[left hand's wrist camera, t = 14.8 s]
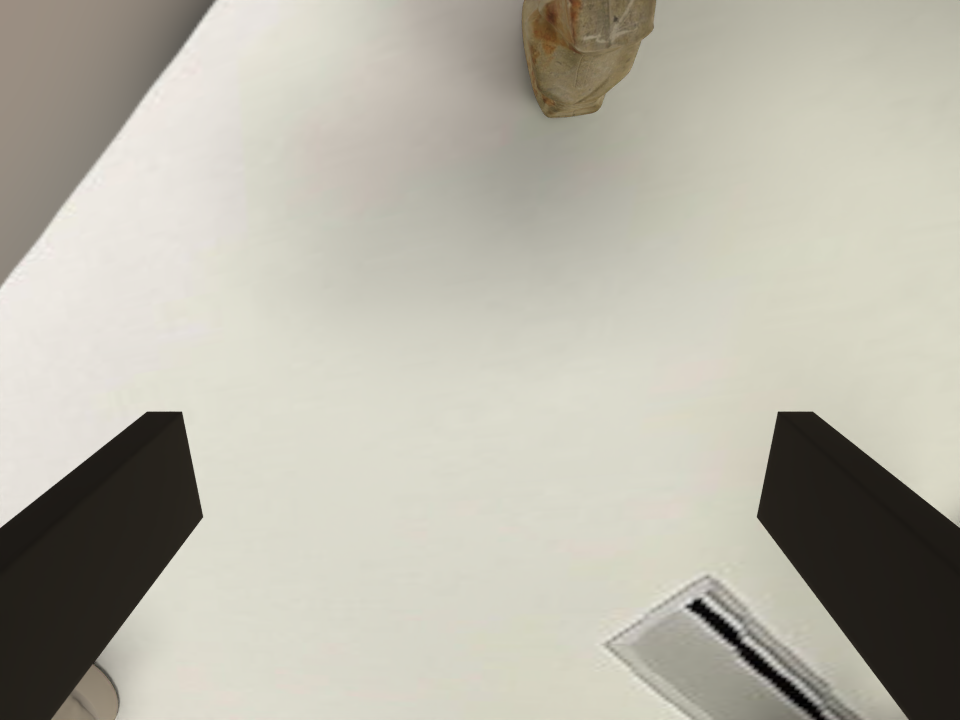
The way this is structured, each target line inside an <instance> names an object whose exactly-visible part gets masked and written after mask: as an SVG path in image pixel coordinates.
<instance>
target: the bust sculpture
mask: <svg viewBox="0 0 960 720" xmlns="http://www.w3.org/2000/svg"><path fill="white" fill-rule="evenodd" d="M117 711H118V699H117V695H116V692H115V690H114V687H113V686H112V684H111V682H110V681H109V679H108V678H107V677H106V676H105V675H104V674H103V673H102V672H101V671H100V670H99V669H98V668H97V667H96V666H95V665H92V666H91V667H90V669H89V670H88V671H87V673H86V674H85V675H84V677H83V678H82V679H81V680H80V682H79V683H78V684H77V686H76V687H75V688H74V690H73V691H72V692H71V694H70V695H69V696H68V698H67V699H66V700H65V702H64V703H63V704H62V706H61V707H60V708H59V710H58V711H57V712H56V714H55V715H54V716H53V718H52V719H51V720H115V718H116V715H117Z"/></svg>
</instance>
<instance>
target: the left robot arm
mask: <svg viewBox="0 0 960 720" xmlns="http://www.w3.org/2000/svg"><path fill="white" fill-rule="evenodd" d="M202 518H203V514H202V509H201V504H200V499H199V494H198V489H197V484H196V479H195V474H194V469H193V464H192V459H191V454H190V449H189V444H188V439H187V434H186V429H185V424H184V419H183V414H182V412H146V413H145V414H144V415H142V416H141V417H140V418H139V419H137V420H136V421H135V422H134V423H132V424H131V425H130V426H128V427H127V428H126V429H125V430H123V431H122V432H121V433H120V434H118V435H117V436H116V437H115V438H113V439H112V440H111V441H110V442H108V443H107V444H106V445H104V446H103V447H102V448H101V449H99V450H98V451H97V452H96V453H94V454H93V455H92V456H91V457H89V458H88V459H87V460H86V461H84V462H83V463H82V464H81V465H79V466H78V467H77V468H75V469H74V470H73V471H72V472H70V473H69V474H68V475H67V476H65V477H64V478H63V479H62V480H60V481H59V482H58V483H57V484H55V485H54V486H53V487H51V488H50V489H49V490H48V491H46V492H45V493H44V494H43V495H41V496H40V497H39V498H38V499H36V500H35V501H34V502H33V503H31V504H30V505H29V506H28V507H26V508H25V509H24V510H22V511H21V512H20V513H19V514H17V515H16V516H15V517H14V518H12V519H11V520H10V521H9V522H7V523H6V524H5V525H4V526H2V527H1V528H0V720H51V719H52V718H53V716H54V715H55V714H56V712H57V711H58V710H59V708H60V707H61V706H62V704H63V703H64V702H65V700H66V699H67V698H68V696H69V695H70V694H71V692H72V691H73V690H74V688H75V687H76V686H77V684H78V683H79V682H80V680H81V679H82V678H83V677H84V675H85V674H86V673H87V671H88V670H89V669H90V667H91V666H92V665H93V663H94V662H95V661H96V659H97V658H98V657H99V655H100V654H101V653H102V651H103V650H104V649H105V647H106V646H107V645H108V643H109V642H110V641H111V639H112V638H113V637H114V635H115V634H116V633H117V631H118V630H119V629H120V627H121V626H122V625H123V623H124V622H125V621H126V619H127V618H128V617H129V615H130V614H131V613H132V611H133V610H134V609H135V607H136V606H137V605H138V603H139V602H140V601H141V599H142V598H143V597H144V595H145V594H146V593H147V591H148V590H149V589H150V587H151V586H152V585H153V583H154V582H155V581H156V579H157V578H158V577H159V575H160V574H161V573H162V571H163V570H164V569H165V567H166V566H167V565H168V563H169V562H170V561H171V559H172V558H173V557H174V555H175V554H176V553H177V551H178V550H179V549H180V547H181V546H182V545H183V543H184V542H185V541H186V539H187V538H188V537H189V535H190V534H191V533H192V531H193V530H194V529H195V527H196V526H197V525H198V523H199V522H200V521H201V519H202ZM757 518H758V519H759V521H760V522H761V523H762V525H763V526H764V527H765V529H766V530H767V531H768V533H769V534H770V535H771V537H772V538H773V539H774V541H775V542H776V543H777V545H778V546H779V547H780V549H781V550H782V551H783V553H784V554H785V555H786V557H787V558H788V559H789V561H790V562H791V563H792V565H793V566H794V567H795V569H796V570H797V571H798V573H799V574H800V575H801V577H802V578H803V579H804V581H805V582H806V583H807V585H808V586H809V587H810V589H811V590H812V591H813V593H814V594H815V595H816V597H817V598H818V599H819V601H820V602H821V603H822V605H823V606H824V607H825V609H826V610H827V611H828V613H829V614H830V615H831V617H832V618H833V619H834V621H835V622H836V623H837V625H838V626H839V627H840V629H841V630H842V631H843V633H844V634H845V635H846V637H847V638H848V639H849V641H850V642H851V643H852V645H853V646H854V647H855V649H856V650H857V651H858V653H859V654H860V655H861V657H862V658H863V659H864V661H865V662H866V663H867V665H868V666H869V667H870V669H871V670H872V671H873V673H874V674H875V675H876V677H877V678H878V679H879V680H880V682H881V683H882V684H883V686H884V687H885V688H886V690H887V691H888V692H889V694H890V695H891V696H892V698H893V699H894V700H895V702H896V703H897V704H898V706H899V707H900V708H901V710H902V711H903V712H904V714H905V715H906V716H907V718H908V719H909V720H960V528H959V527H958V526H956V525H955V524H954V523H953V522H951V521H950V520H949V519H948V518H946V517H945V516H944V515H943V514H941V513H940V512H939V511H938V510H936V509H935V508H934V507H932V506H931V505H930V504H929V503H927V502H926V501H925V500H924V499H922V498H921V497H920V496H919V495H917V494H916V493H915V492H914V491H912V490H911V489H910V488H909V487H907V486H906V485H905V484H903V483H902V482H901V481H900V480H898V479H897V478H896V477H895V476H893V475H892V474H891V473H890V472H888V471H887V470H886V469H885V468H883V467H882V466H881V465H879V464H878V463H877V462H876V461H874V460H873V459H872V458H871V457H869V456H868V455H867V454H866V453H864V452H863V451H862V450H861V449H859V448H858V447H857V446H855V445H854V444H853V443H852V442H850V441H849V440H848V439H847V438H845V437H844V436H843V435H842V434H840V433H839V432H838V431H837V430H835V429H834V428H833V427H832V426H830V425H829V424H828V423H826V422H825V421H824V420H823V419H821V418H820V417H819V416H818V415H816V414H815V413H814V412H778V414H777V419H776V424H775V429H774V434H773V439H772V444H771V449H770V454H769V459H768V464H767V469H766V474H765V479H764V484H763V489H762V494H761V499H760V504H759V509H758V514H757Z"/></svg>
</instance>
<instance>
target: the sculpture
mask: <svg viewBox="0 0 960 720" xmlns="http://www.w3.org/2000/svg"><path fill="white" fill-rule="evenodd" d="M655 5H656V0H524V4H523V10H522V31H523V43H524V49H525V54H526V60H527V65H528V70H529V75H530V79H531V83H532V87H533V91H534V94H535V97H536V99H537V102H538V104H539V106H540V108H541V110H542V112H543V113H544V114H545V116H547V117H550V118H557V117H571V116H578V115H584V114H590V113H594V112H596V111H597V110H598V109H599V108H600V107H601V105H602V102H603V99H604V96H605V93H607V92H608V91H609V90H610V89H611V88H612V87H614V86H615V85H616V84H617V83H618V82H620V81H621V80H622V79H623V78H624V77H625V76H626V75H627V74H628V73H629V71H630V69H631V68H632V65H633V63H634V60H635V57H636V54H637V52H638V49H639V46H640V43H641V40H642V39H644V38H645V37H646V36H648V35H649V34H650V33H651V32H652V30H653V28H654V25H653V21H654V13H655Z"/></svg>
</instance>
